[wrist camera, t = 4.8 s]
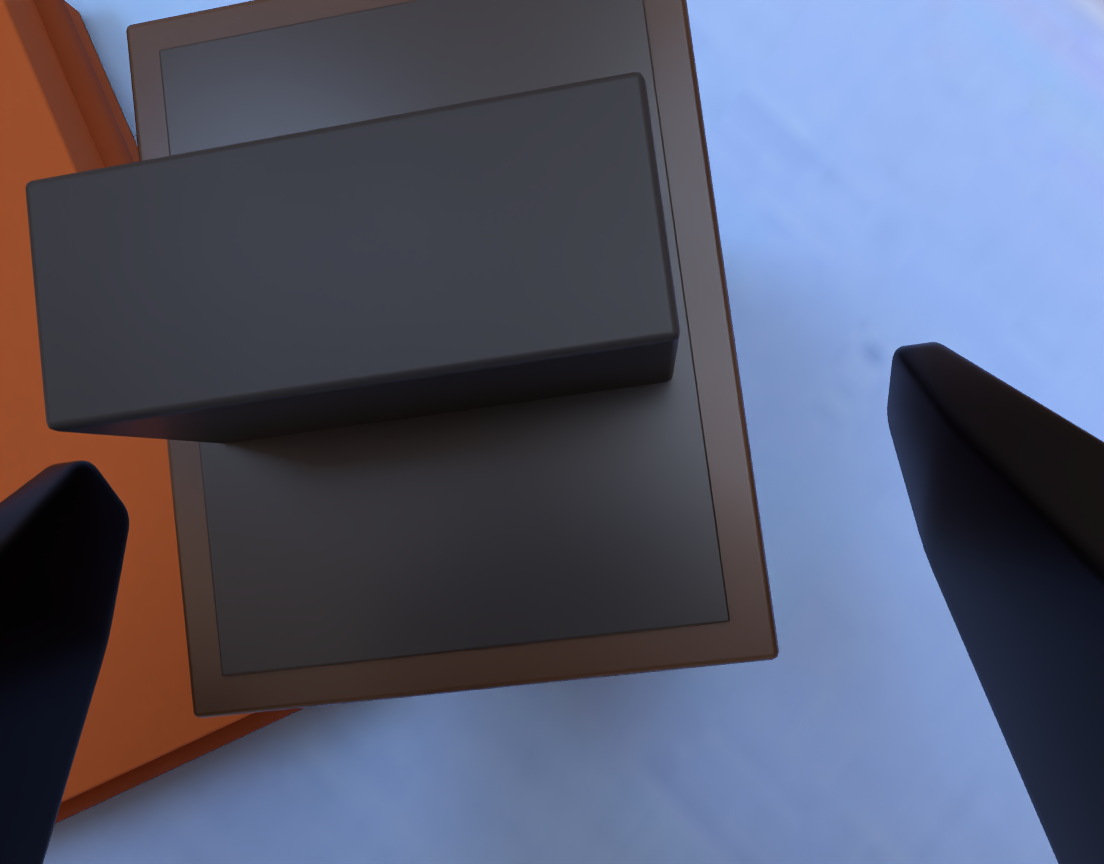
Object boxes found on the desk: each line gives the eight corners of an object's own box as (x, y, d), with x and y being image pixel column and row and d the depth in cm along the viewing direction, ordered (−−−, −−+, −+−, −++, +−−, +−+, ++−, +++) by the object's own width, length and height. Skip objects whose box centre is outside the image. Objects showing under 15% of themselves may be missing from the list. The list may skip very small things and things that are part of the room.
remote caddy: (711, 556, 18) (839, 749, 5) (443, 587, 18) (-6, 824, 6) (664, 221, 18) (681, -333, 6) (405, 262, 19) (-87, -154, 6)
